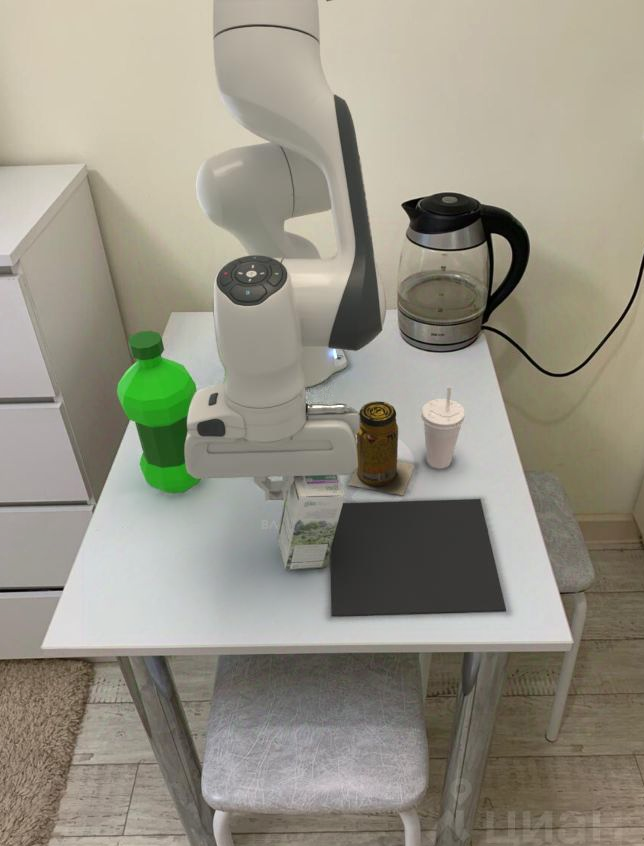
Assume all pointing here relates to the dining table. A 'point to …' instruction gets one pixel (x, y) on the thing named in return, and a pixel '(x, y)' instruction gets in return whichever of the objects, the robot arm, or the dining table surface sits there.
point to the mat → (413, 559)
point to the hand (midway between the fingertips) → (277, 496)
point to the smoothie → (441, 429)
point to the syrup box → (310, 521)
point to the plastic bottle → (158, 412)
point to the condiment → (379, 451)
